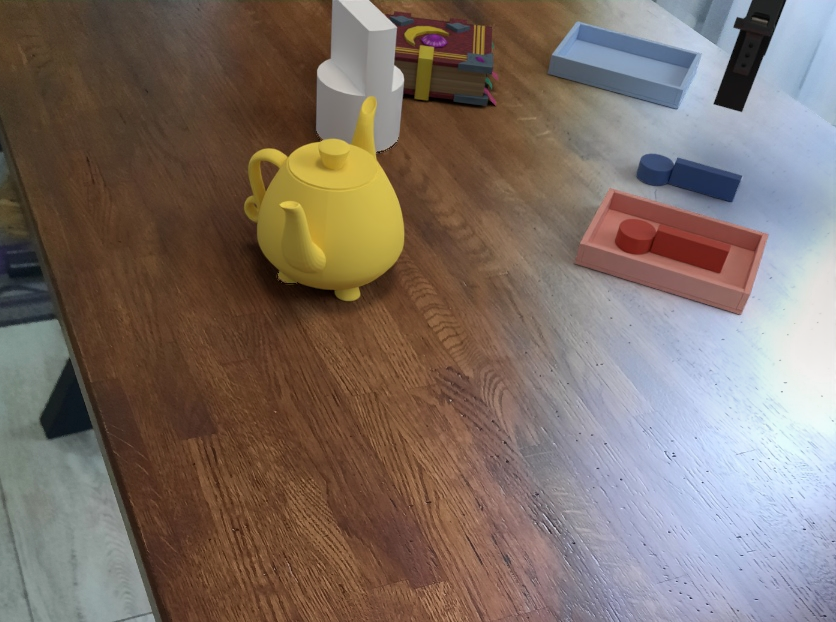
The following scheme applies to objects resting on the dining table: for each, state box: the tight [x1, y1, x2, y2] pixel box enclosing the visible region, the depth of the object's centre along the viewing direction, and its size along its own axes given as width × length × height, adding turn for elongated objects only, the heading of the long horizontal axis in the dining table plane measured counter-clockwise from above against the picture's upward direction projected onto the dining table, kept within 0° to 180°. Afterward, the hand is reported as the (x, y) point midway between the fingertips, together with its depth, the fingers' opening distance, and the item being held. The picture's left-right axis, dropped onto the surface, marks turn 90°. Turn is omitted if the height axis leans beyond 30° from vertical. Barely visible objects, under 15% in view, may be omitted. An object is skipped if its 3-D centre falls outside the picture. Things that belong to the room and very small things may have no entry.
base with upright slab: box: [315, 0, 404, 152], centre depth 95 cm, size 9×9×12 cm
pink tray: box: [574, 187, 769, 315], centre depth 90 cm, size 16×11×2 cm
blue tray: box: [547, 20, 703, 110], centre depth 113 cm, size 16×11×2 cm
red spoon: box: [615, 219, 731, 273], centre depth 89 cm, size 11×4×2 cm, turn 67°
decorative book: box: [383, 10, 499, 107], centre depth 107 cm, size 11×16×5 cm
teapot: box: [243, 96, 405, 302], centre depth 81 cm, size 20×15×12 cm
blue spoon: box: [635, 153, 743, 203], centre depth 98 cm, size 11×4×2 cm, turn 67°
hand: (740, 78), depth 90 cm, fingers open, 13 cm apart
